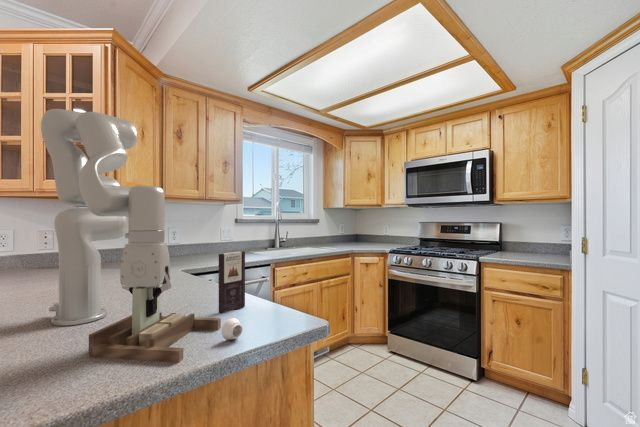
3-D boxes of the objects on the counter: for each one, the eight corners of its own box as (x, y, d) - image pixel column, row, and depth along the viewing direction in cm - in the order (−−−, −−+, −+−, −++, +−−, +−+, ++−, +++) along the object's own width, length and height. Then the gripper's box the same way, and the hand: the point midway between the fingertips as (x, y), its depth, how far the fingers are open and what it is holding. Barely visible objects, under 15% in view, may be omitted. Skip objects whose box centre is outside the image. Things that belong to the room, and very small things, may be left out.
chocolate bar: (220, 313, 93) (220, 254, 93) (218, 312, 93) (218, 254, 93) (244, 306, 100) (244, 251, 100) (243, 306, 100) (243, 251, 100)
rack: (88, 358, 64) (88, 334, 64) (150, 324, 83) (150, 306, 83) (179, 363, 62) (179, 338, 62) (220, 327, 81) (220, 309, 81)
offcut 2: (159, 340, 73) (159, 322, 73) (174, 331, 79) (174, 313, 79) (171, 341, 73) (171, 322, 73) (185, 331, 79) (185, 314, 79)
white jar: (238, 335, 76) (238, 315, 76) (245, 338, 74) (245, 317, 74) (220, 342, 72) (220, 321, 72) (228, 345, 70) (228, 323, 70)
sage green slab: (131, 342, 69) (132, 289, 70) (151, 331, 76) (152, 282, 77) (139, 342, 69) (140, 289, 69) (159, 331, 76) (160, 283, 76)
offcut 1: (139, 354, 66) (139, 333, 66) (156, 342, 72) (156, 323, 72) (152, 354, 66) (152, 334, 66) (168, 343, 72) (168, 324, 72)
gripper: (103, 238, 70) (103, 319, 70) (168, 239, 68) (168, 321, 68) (127, 236, 77) (127, 308, 77) (186, 237, 76) (186, 311, 76)
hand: (146, 314), depth 73 cm, fingers closed
